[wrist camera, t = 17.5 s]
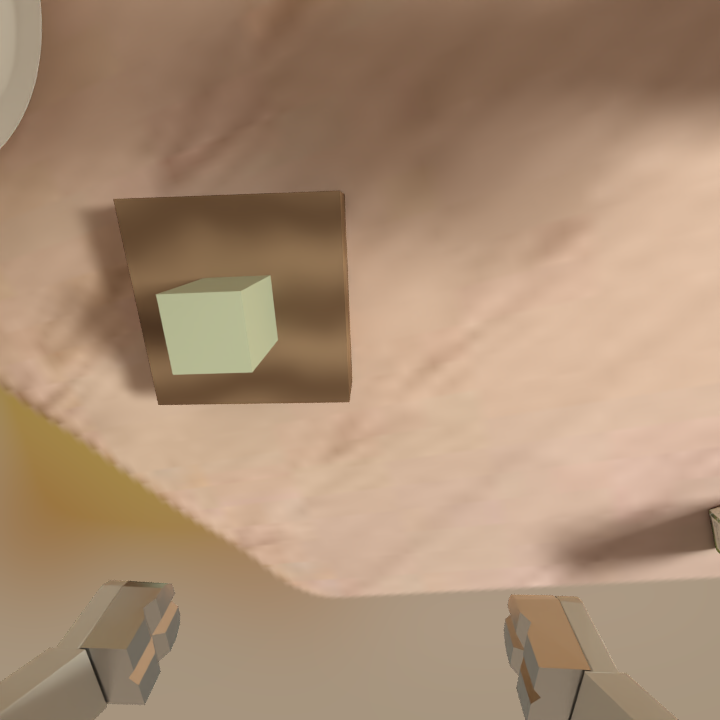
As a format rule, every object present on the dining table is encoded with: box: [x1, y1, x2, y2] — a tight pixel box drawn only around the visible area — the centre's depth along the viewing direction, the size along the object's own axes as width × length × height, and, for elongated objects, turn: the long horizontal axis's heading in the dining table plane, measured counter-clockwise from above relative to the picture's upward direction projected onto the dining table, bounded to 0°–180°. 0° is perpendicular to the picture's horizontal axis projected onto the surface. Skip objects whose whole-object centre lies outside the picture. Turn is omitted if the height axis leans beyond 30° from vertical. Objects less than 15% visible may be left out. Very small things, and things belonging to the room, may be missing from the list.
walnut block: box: [113, 191, 352, 405], centre depth 33 cm, size 16×16×5 cm
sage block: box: [156, 275, 278, 375], centre depth 27 cm, size 5×5×7 cm
